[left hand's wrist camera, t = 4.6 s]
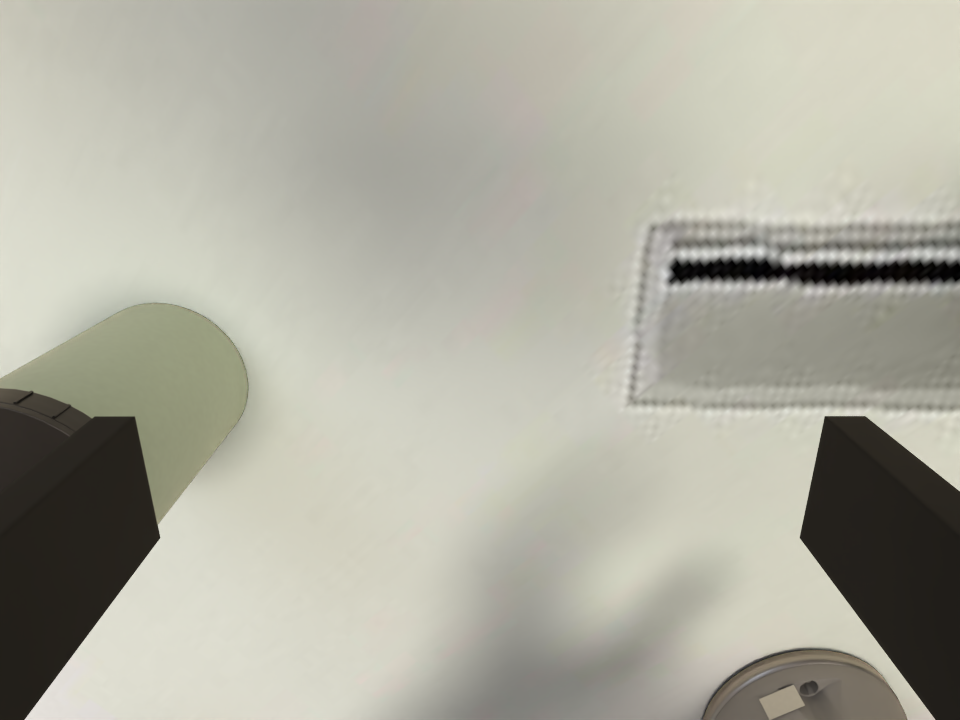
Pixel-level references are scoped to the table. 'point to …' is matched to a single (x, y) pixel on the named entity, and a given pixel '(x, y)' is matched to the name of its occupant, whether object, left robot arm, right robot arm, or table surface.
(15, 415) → the lid
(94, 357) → the jar
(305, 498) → the table surface
